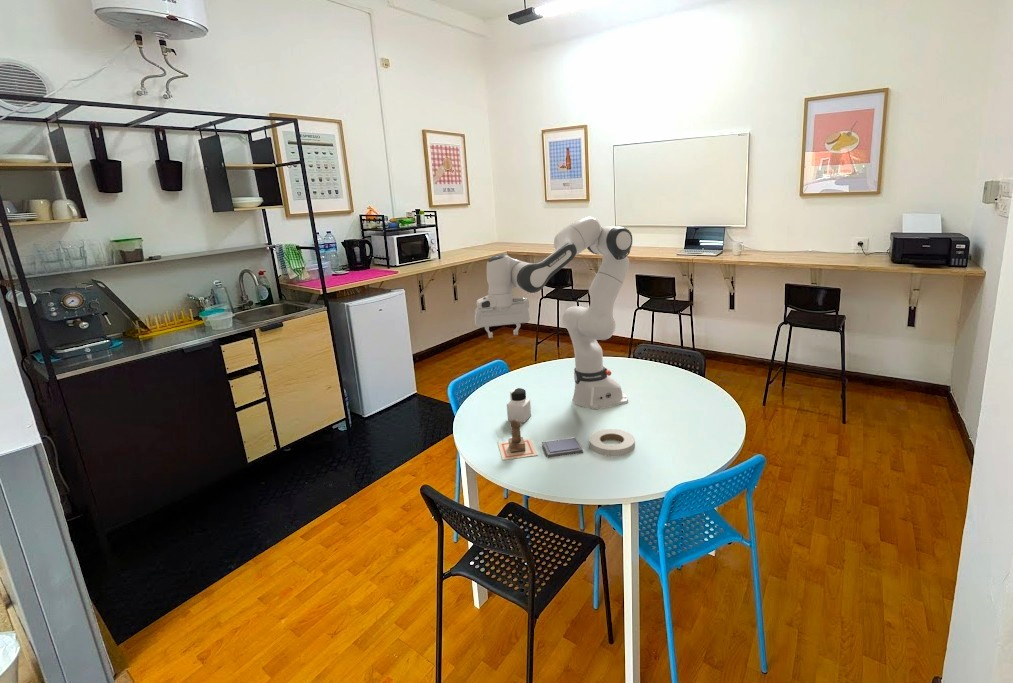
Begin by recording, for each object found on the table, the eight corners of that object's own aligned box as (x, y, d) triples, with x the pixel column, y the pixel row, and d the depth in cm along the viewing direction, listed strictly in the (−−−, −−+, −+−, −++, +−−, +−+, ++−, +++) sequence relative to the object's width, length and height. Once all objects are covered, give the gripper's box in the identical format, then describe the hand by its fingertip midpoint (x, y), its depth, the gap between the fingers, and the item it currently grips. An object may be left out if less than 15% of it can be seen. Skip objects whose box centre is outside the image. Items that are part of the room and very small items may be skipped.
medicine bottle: (531, 415, 203) (529, 387, 199) (524, 423, 197) (522, 394, 193) (514, 413, 206) (513, 385, 202) (507, 420, 200) (505, 392, 196)
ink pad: (575, 440, 181) (575, 436, 180) (583, 453, 172) (582, 449, 172) (542, 445, 179) (542, 441, 179) (548, 457, 171) (547, 453, 170)
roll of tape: (586, 436, 184) (586, 429, 183) (629, 434, 183) (629, 427, 182) (592, 458, 169) (592, 451, 168) (639, 456, 168) (639, 448, 167)
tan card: (530, 439, 184) (530, 438, 184) (537, 455, 173) (537, 454, 173) (497, 443, 183) (497, 442, 183) (502, 460, 171) (502, 459, 171)
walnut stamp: (522, 444, 180) (521, 415, 177) (525, 451, 176) (523, 421, 172) (508, 446, 180) (506, 417, 177) (511, 453, 175) (508, 423, 172)
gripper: (527, 295, 191) (529, 331, 195) (472, 300, 188) (475, 336, 192) (530, 298, 185) (532, 335, 189) (474, 304, 182) (477, 341, 186)
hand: (503, 336), depth 191 cm, fingers open, 8 cm apart
